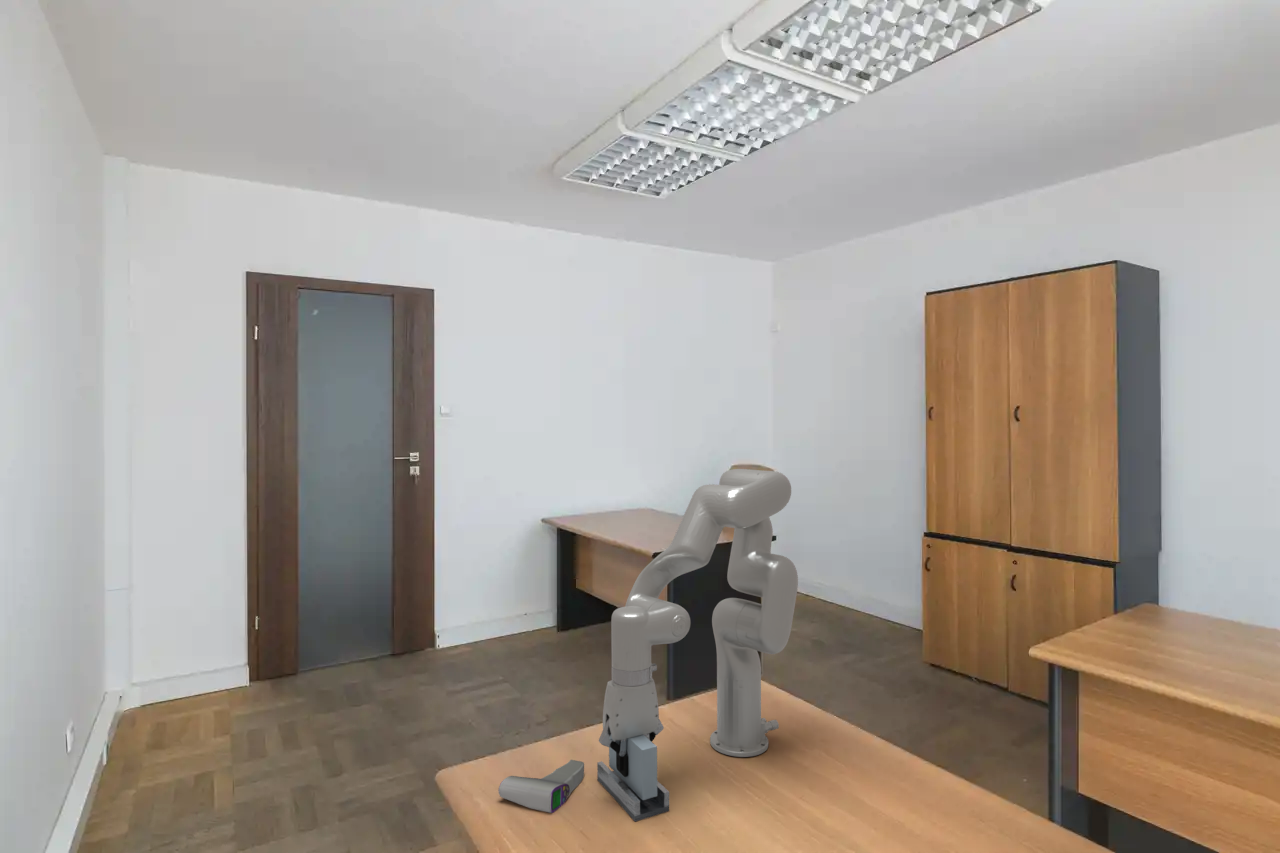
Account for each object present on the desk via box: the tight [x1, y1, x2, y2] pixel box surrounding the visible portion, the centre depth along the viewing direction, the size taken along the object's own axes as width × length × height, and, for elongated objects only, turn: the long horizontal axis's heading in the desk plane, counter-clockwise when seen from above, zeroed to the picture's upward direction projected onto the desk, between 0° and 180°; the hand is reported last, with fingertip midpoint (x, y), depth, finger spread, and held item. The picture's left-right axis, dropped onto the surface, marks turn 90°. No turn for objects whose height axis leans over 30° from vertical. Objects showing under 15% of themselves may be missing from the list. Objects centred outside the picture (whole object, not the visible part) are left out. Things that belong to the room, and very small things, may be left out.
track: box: [596, 760, 670, 822], centre depth 130 cm, size 16×7×4 cm, turn 28°
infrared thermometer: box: [498, 759, 585, 814], centre depth 132 cm, size 5×12×15 cm
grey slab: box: [608, 735, 658, 800], centre depth 129 cm, size 14×3×9 cm, turn 28°
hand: (632, 770), depth 130 cm, fingers open, 3 cm apart
